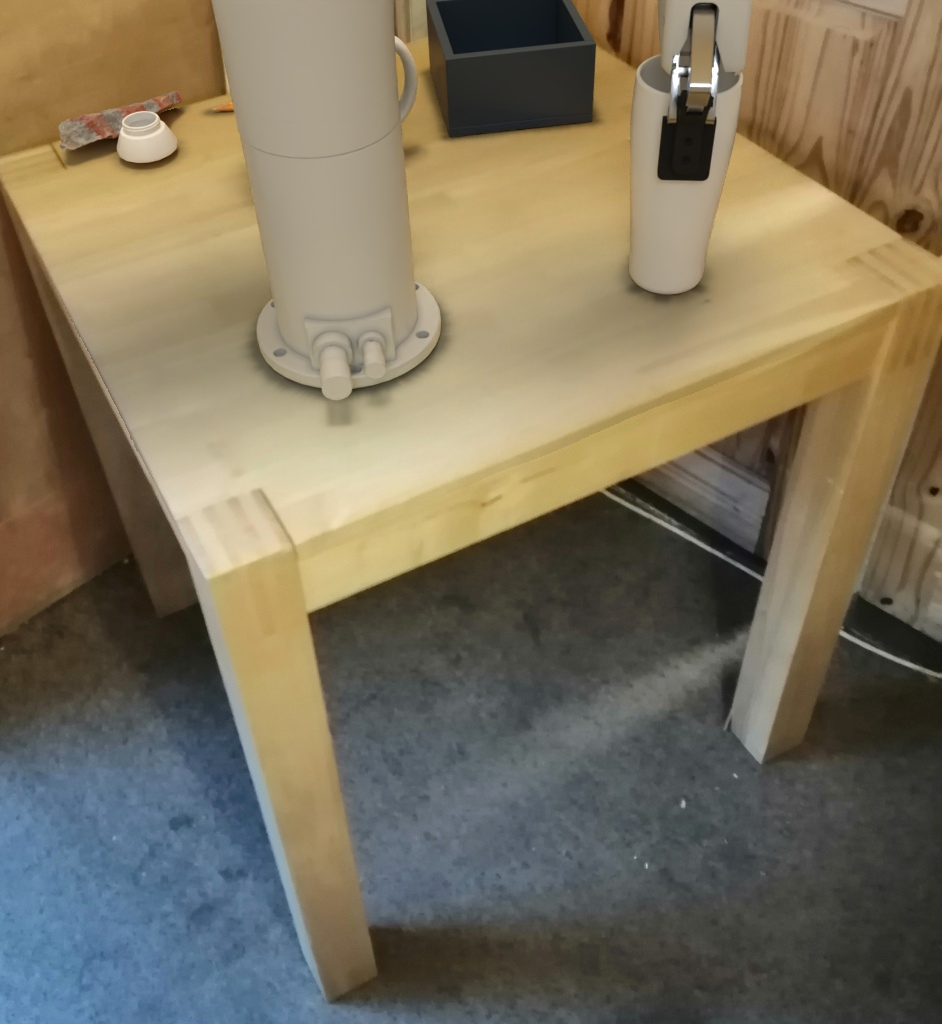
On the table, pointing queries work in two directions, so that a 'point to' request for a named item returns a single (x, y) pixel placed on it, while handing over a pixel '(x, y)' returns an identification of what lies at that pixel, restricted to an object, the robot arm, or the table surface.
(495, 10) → the bin
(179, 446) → the table surface
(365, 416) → the table surface
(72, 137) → the stone
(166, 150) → the lidless jar
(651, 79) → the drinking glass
